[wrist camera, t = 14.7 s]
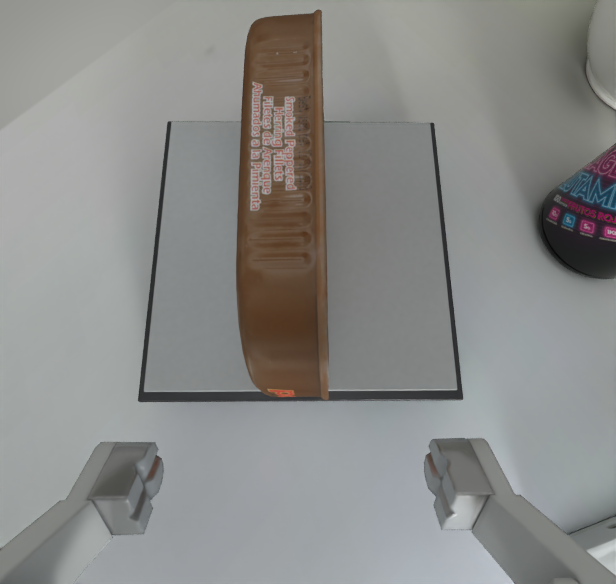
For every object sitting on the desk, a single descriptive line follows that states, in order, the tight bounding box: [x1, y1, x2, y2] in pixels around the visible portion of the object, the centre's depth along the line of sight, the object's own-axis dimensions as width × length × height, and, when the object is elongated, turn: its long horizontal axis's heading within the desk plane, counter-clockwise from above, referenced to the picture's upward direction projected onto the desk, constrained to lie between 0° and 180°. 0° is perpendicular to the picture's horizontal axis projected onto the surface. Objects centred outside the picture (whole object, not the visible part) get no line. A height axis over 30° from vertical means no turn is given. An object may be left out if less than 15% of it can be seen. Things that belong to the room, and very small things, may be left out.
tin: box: [236, 10, 329, 400], centre depth 14 cm, size 15×3×8 cm, turn 0°
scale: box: [138, 121, 463, 402], centre depth 20 cm, size 16×16×3 cm
